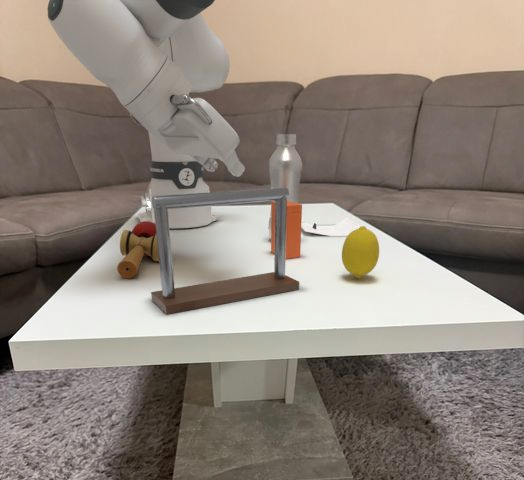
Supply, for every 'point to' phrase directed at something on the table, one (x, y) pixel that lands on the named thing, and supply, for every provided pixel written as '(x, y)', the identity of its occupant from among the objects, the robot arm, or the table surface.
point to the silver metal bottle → (285, 168)
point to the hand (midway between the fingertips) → (226, 170)
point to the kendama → (137, 247)
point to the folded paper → (332, 228)
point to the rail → (226, 289)
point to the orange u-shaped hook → (289, 229)
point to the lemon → (360, 252)
